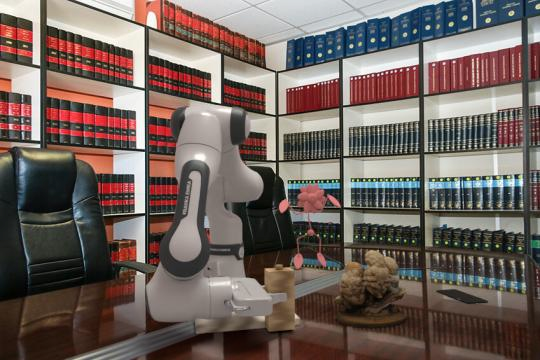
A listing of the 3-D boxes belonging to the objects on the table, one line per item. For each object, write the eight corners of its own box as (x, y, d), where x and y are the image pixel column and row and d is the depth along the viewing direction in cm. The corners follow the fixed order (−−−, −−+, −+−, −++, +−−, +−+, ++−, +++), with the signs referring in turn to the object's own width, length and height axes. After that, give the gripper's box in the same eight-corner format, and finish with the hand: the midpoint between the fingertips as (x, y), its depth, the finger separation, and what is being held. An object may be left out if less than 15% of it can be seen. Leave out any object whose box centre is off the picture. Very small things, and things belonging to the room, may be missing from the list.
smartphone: (467, 302, 112) (435, 290, 127) (467, 305, 112) (435, 292, 127) (489, 301, 113) (454, 288, 128) (489, 304, 113) (455, 291, 128)
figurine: (276, 268, 169) (276, 183, 170) (334, 264, 176) (334, 183, 176) (287, 276, 154) (287, 183, 155) (350, 272, 161) (350, 183, 162)
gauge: (268, 331, 90) (268, 267, 90) (258, 315, 101) (257, 258, 102) (295, 329, 91) (294, 265, 91) (281, 313, 103) (281, 257, 103)
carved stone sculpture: (393, 310, 107) (392, 245, 108) (419, 325, 96) (418, 251, 96) (328, 315, 103) (328, 247, 104) (347, 331, 92) (346, 254, 92)
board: (196, 333, 90) (196, 326, 91) (194, 321, 99) (194, 315, 99) (300, 324, 96) (300, 318, 96) (290, 314, 105) (289, 307, 105)
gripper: (227, 294, 80) (296, 290, 83) (217, 274, 100) (273, 271, 103) (228, 327, 79) (296, 321, 82) (217, 300, 99) (273, 296, 102)
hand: (283, 293), depth 93 cm, fingers closed on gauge, 4 cm apart
